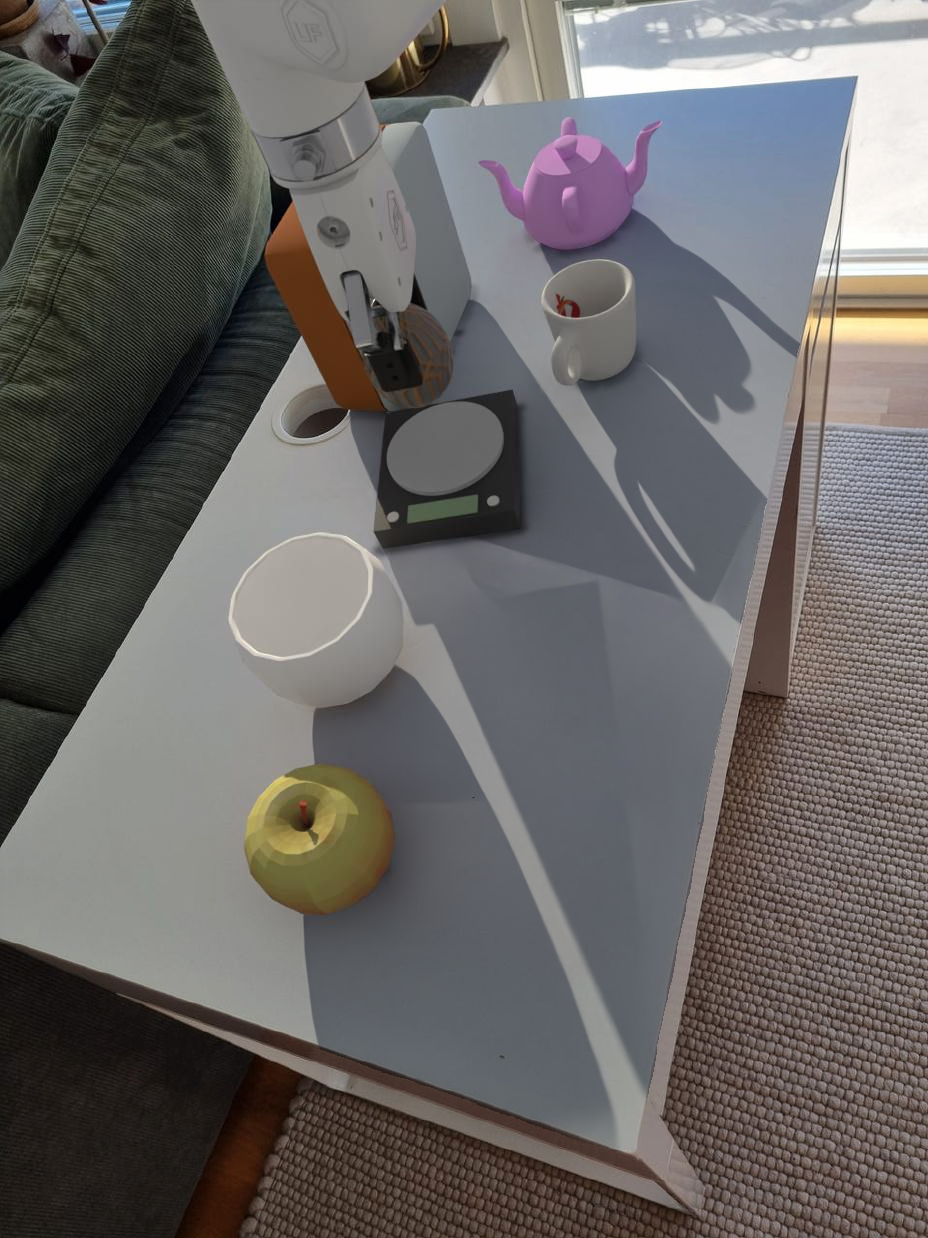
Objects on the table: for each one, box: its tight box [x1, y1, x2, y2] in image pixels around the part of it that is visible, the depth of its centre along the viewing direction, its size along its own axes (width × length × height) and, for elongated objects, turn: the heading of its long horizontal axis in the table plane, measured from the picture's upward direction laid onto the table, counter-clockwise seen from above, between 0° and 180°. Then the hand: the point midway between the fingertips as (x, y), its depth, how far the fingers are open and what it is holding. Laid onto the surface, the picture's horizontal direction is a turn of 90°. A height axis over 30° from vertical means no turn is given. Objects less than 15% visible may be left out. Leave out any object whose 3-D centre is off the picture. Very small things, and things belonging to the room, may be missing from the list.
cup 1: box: [227, 531, 404, 709], centre depth 71 cm, size 12×12×10 cm
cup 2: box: [540, 258, 637, 387], centre depth 82 cm, size 11×8×8 cm
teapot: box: [477, 117, 663, 251], centre depth 95 cm, size 12×14×9 cm
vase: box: [362, 299, 455, 408], centre depth 72 cm, size 7×7×9 cm
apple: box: [243, 763, 396, 915], centre depth 62 cm, size 10×10×8 cm
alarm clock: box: [263, 121, 473, 412], centre depth 86 cm, size 18×9×21 cm, turn 162°
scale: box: [373, 389, 521, 550], centre depth 81 cm, size 12×14×3 cm
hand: (406, 350), depth 72 cm, fingers closed on vase, 6 cm apart
